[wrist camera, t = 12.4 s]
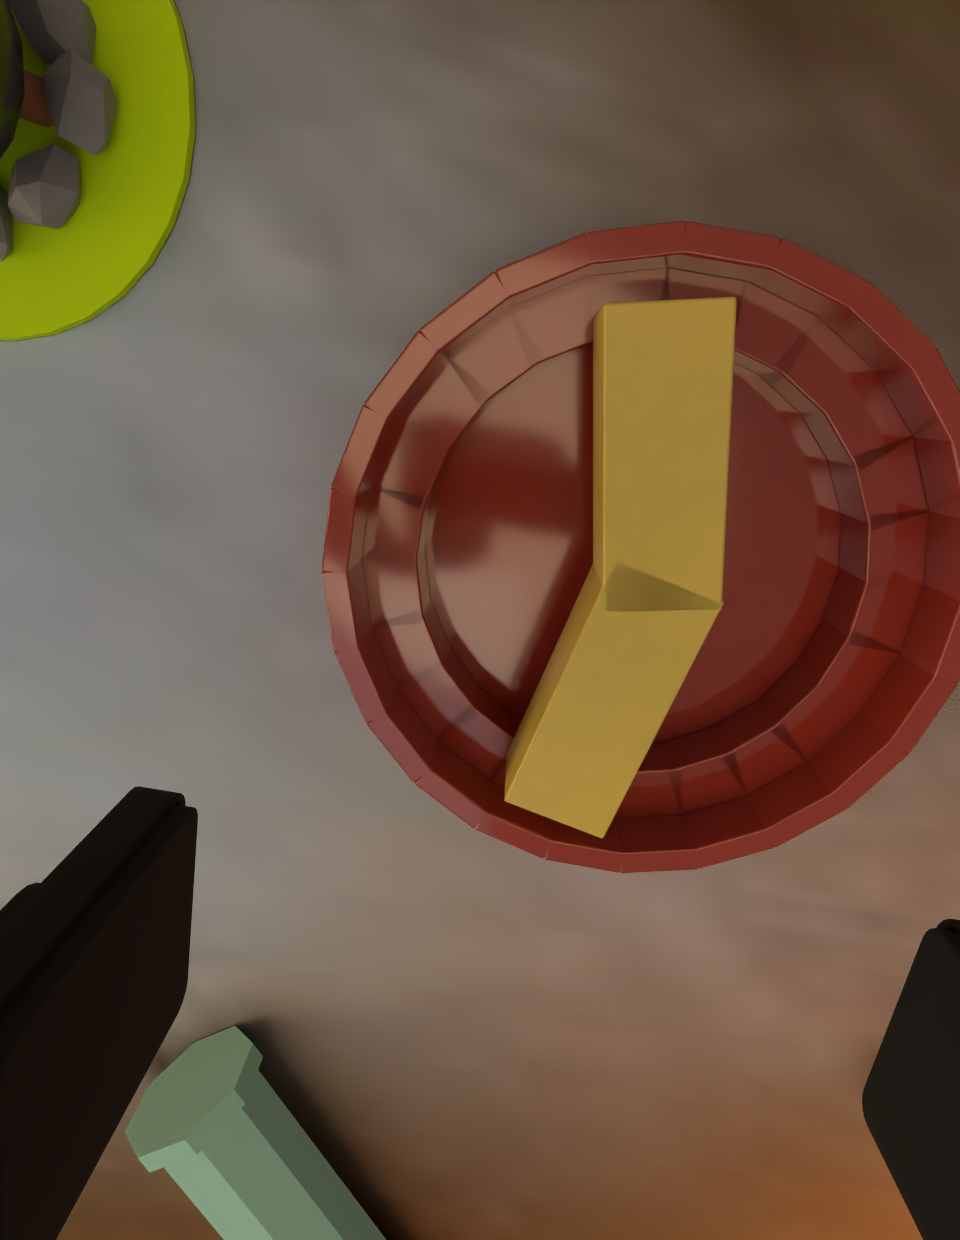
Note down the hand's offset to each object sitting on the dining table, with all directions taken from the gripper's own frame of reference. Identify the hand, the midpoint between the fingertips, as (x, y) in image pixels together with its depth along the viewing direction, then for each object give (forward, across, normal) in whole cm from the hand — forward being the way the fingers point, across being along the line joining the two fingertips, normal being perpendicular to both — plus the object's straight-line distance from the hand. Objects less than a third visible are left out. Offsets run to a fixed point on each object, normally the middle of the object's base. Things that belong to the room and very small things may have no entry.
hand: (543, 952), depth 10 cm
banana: (+16, -3, -2) cm, 17 cm away
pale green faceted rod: (+20, +3, +33) cm, 38 cm away
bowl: (+19, -4, -2) cm, 20 cm away
